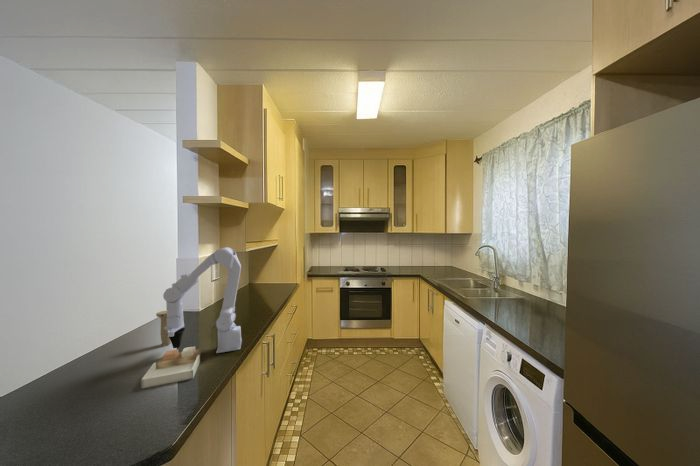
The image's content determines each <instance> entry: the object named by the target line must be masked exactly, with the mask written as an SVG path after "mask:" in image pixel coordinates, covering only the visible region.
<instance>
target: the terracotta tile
mask: <svg viewBox="0 0 700 466" xmlns="http://www.w3.org/2000/svg"><path fill="white" fill-rule="evenodd" d="M178 354H179V348H175V349H170V350H166V351H165V353H164V354H163V355H162V356H163V361H165V360H170V359H176V357H177V356H178Z"/></svg>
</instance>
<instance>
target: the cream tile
mask: <svg viewBox="0 0 700 466" xmlns="http://www.w3.org/2000/svg"><path fill="white" fill-rule="evenodd" d="M195 351H196V346H189V347H184V348H183V349H182V351H180V352H181V354H182V357H188V356H193V355H194V353H195Z"/></svg>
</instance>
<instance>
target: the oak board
mask: <svg viewBox="0 0 700 466" xmlns="http://www.w3.org/2000/svg"><path fill="white" fill-rule="evenodd" d="M195 350H196V351H195V353H194V355H193V356H188V357H182V354H181V352H182V351H180V352H179V351H178V353H179V354H178V356H177V357H176V359H170V360H165V361H163V355H162V357H161V358H160V359H159V360H158V361H157V362H156V367H157V369H160V368H166V367H171V366H177V365H182V364H188V363H193V362H195V360H196V358H197V356H198V355H200V356H201V355H202V354H201V352H202V351H201V348H197V349H196V348H195Z"/></svg>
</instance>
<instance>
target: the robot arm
mask: <svg viewBox="0 0 700 466" xmlns="http://www.w3.org/2000/svg"><path fill="white" fill-rule="evenodd" d="M237 255H238V254H237V252H236V251H235V250H234V249H233V248H231V247H230V246H225V247H222V248H218V249H216V251H214V252H212V253H211V254H210V255H208V256H207V257H206V258H204V260H203V261H202V262H201V263H200V264H199V265H198V266H197V267H196V268H195V269H193V270H192V271H191V272H186V273H183V274H182V275H180V279H178V280H177V281H176V282H173V283H172V284H171V287H168V288H167V289H165V291H164V293H163V299H164V301H165V302H166V303H165V304H166V311H167V326H166V327H164V329H167V331H168V332H167V336H168V337H169V339H170V341H171V343H170V344H171V346H172V348H173V349H179V348H180V347H181V343H182V337H183V334H184V332H185V329H186V328H185V322H184V320H185V318H184V303H183V297H184V295H185V294H186V293H187V292H188V291H190V290H191V289H192V288H193V286H194V285H196V284H197V283H198V281H199V280H198V278H199V277H200V276H201V275H202V274H203V273H205V272H206V271H207V270H208V269H209V268H211V267H212V266H213V265H217V264H221V265H222V266H223V267H225V268H226V270H227V271H228V274H227V279H226V285H225V289H224V290H225V291H224V296H223V302H222V306H221V310H220V311H219V316H218V317H217V319H216V321H215V328H217V348H216V352H215V353H216V354H220V353H225V352H226V353H227V352H232V351H238V350H241V347H242V343H243V338H242V327H241V325H237V324H236V323H235V321H236V318H237V314H236V312H235V311H236V301H237V294H238V288H239V284H240V283H239V282H240V278H241V271H242V264H241V262H240V260H239V258H238V256H237Z"/></svg>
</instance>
